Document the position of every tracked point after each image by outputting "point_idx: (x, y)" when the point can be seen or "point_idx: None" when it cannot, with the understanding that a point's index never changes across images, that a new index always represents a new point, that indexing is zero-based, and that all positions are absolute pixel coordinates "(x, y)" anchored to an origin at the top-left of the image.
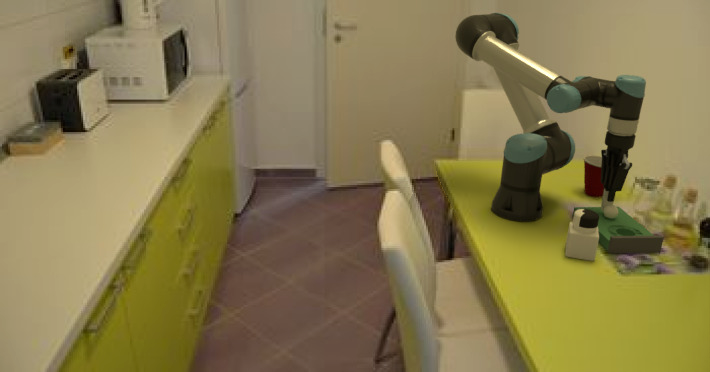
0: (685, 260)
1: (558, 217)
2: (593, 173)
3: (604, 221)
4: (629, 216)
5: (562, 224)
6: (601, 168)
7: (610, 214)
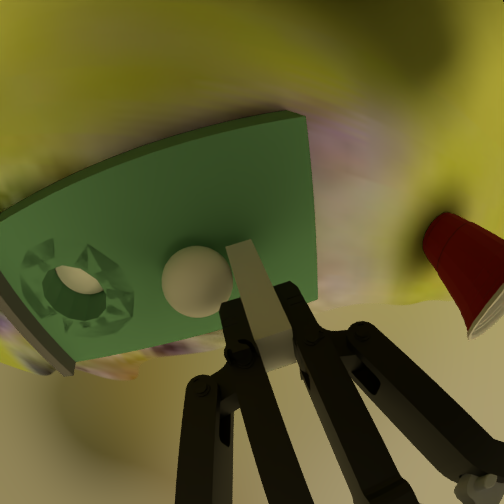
0: None
1: (264, 43)
2: (483, 264)
3: (146, 236)
4: None
5: (181, 46)
6: (438, 389)
7: (162, 277)
